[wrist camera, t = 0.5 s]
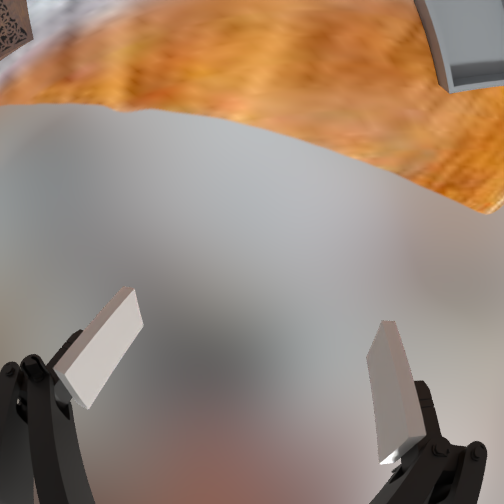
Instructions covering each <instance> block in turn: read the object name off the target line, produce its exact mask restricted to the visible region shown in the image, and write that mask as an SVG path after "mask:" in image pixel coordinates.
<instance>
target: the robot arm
mask: <svg viewBox="0 0 504 504" xmlns="http://www.w3.org/2000/svg"><path fill="white" fill-rule="evenodd" d="M142 327H143V322H142V319H141V315H140V310H139V306H138V302H137V298H136V293H135V289H134V288H129V287H125V286H123V287H122V289H120V291H119V292H118V293H117V294H116V295H115V296H114V297H113V298H112V299H111V300H110V301H109V303H108V304H107V305H106V306H105V307H104V308H103V309H102V310H101V312H100V313H99V314H98V315H97V316H96V317H95V318H94V319H93V321H92V322H91V323H90V324H89V325H88V326H87V328H86V329H85V330H84V331H83V330H79V331H77V332H75V333H74V334H72V335H71V337H70V338H69V339H68V340H67V342H65V343H64V345H63V346H62V348H60V349H59V351H58V352H57V353H56V354H55V356H54V357H53V358H52V359H51V360H50V362H49V363H48V364H47V365H46V366H45V364H44V362H43V361H42V359H41V358H40V357H39V356H38V355H36V354H31V355H29V356H27V357H25V358H24V359H23V360H22V362H21V364H20V367H19V365H18V364H17V363H16V362H8V363H6V364H5V365H4V366H3V368H2V370H1V372H0V504H34V499H33V482H34V479H35V484H36V489H37V494H38V498H39V502H40V504H95V501H94V499H93V496H92V492H91V489H90V486H89V483H88V480H87V476H86V473H85V469H84V465H83V461H82V457H81V454H80V449H79V444H78V439H77V434H76V429H75V423H74V417H73V410H72V405H71V402H70V400H71V398H72V397H73V399H74V400H75V402H76V403H77V404H79V405H80V406H82V407H84V408H86V409H88V410H89V408H90V407H91V405H92V403H93V402H94V400H95V398H96V397H97V395H98V394H99V392H100V391H101V389H102V387H103V386H104V384H105V383H106V381H107V380H108V378H109V377H110V375H111V373H112V372H113V370H114V369H115V367H116V366H117V364H118V363H119V361H120V360H121V358H122V357H123V355H124V354H125V352H126V351H127V349H128V348H129V346H130V345H131V343H132V342H133V340H134V339H135V337H136V336H137V335H138V333H139V332H140V330H141V329H142ZM366 358H367V364H368V370H369V377H370V383H371V389H372V397H373V404H374V413H375V422H376V431H377V442H378V454H379V464H386V463H394V462H396V461H397V460H398V459H400V458H401V463H402V464H400V465H399V466H398V467H397V468H395V469H394V470H393V471H392V473H394V474H393V475H392V476H391V478H390V479H389V480H388V482H387V483H386V484H385V485H384V487H383V488H382V489H381V490H380V492H379V493H378V494H377V495H376V496H375V498H374V499H373V500H372V501H371V502H370V503H369V504H477V501H478V497H479V493H480V489H481V485H482V481H483V476H484V471H485V466H486V460H487V450H486V447H485V445H484V444H482V443H481V442H479V441H475V442H472V443H470V444H469V445H468V446H467V447H464V446H457V445H452V444H450V442H449V441H448V440H447V439H446V438H444V437H442V435H441V432H440V428H439V423H438V419H437V415H436V411H435V408H434V404H433V400H432V397H431V393H430V390H429V388H428V386H427V385H426V384H425V382H424V381H414V380H413V377H412V373H411V370H410V366H409V363H408V360H407V356H406V353H405V350H404V347H403V344H402V341H401V338H400V334H399V332H398V329H397V326H396V323H395V321H382V322H381V324H380V326H379V329H378V331H377V334H376V336H375V339H374V341H373V343H372V346H371V348H370V350H369V352H368V355H367V357H366ZM17 399H19V403H18V404H17ZM33 478H34V479H33Z"/></svg>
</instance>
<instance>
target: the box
mask: <svg viewBox="0 0 504 504" xmlns="http://www.w3.org/2000/svg"><path fill="white" fill-rule="evenodd" d="M414 2H415V5H416V7H417V10H418V12H419V15H420V18H421V21H422V24H423V27H424V30H425V33H426V36H427V39H428V42H429V46H430V49H431V53H432V57H433V61H434V65H435V69H436V73H437V78H438V83H439V85H440V86H441V87H442V88H444V89H445V90H446V91H447V92H448V93H449V94H450V93H456V92H461V91H467V90H474V89H480V88H488V87H496V86H504V0H414Z"/></svg>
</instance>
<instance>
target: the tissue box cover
mask: <svg viewBox="0 0 504 504" xmlns="http://www.w3.org/2000/svg"><path fill="white" fill-rule="evenodd" d="M31 40H33V34H32V30H31V25H30V20H29V14H28V8H27V2H26V0H0V61H1V60H2V59H3V58H5V57H6V56H8V55H9V54H11V53H12V52H14V51H15V50H17V49H18V48H20V47H21V46H23V45H25V44H26V43H28V42H30V41H31Z"/></svg>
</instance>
